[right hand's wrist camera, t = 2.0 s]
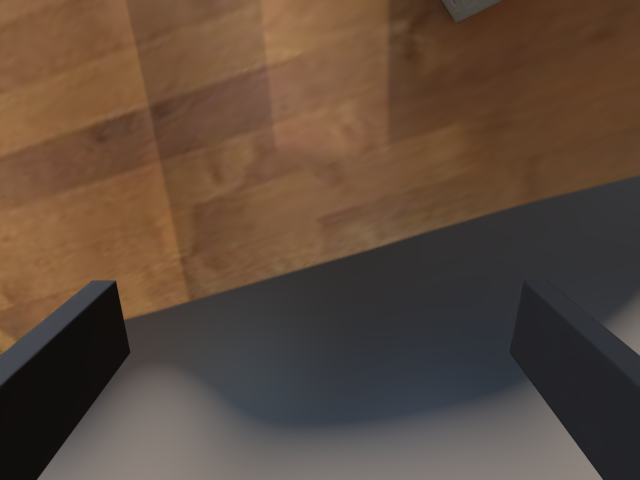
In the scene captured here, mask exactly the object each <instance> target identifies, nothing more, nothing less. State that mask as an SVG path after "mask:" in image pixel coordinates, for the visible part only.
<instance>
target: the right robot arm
mask: <svg viewBox="0 0 640 480" xmlns="http://www.w3.org/2000/svg"><path fill="white" fill-rule="evenodd" d="M129 354H130V349H129V344H128V339H127V334H126V329H125V324H124V319H123V314H122V309H121V304H120V299H119V294H118V289H117V284H116V281H91V282H90V283H89V284H87V285H86V286H85V287H84V288H83V289H81V290H80V291H79V292H78V293H76V294H75V295H74V296H73V297H72V298H70V299H69V300H68V301H67V302H65V303H64V304H63V305H62V306H61V307H59V308H58V309H57V310H56V311H54V312H53V313H52V314H51V315H49V316H48V317H47V318H46V319H45V320H43V321H42V322H41V323H40V324H38V325H37V326H36V327H35V328H34V329H32V330H31V331H30V332H29V333H27V334H26V335H25V336H24V337H23V338H21V339H20V340H19V341H18V342H16V343H15V344H14V345H13V346H12V347H10V348H9V349H8V350H7V351H5V352H4V353H3V354H2V355H1V356H0V480H37V479H38V477H39V476H40V475H41V473H42V472H43V471H44V469H45V468H46V467H47V465H48V464H49V462H50V461H51V460H52V458H53V457H54V456H55V454H56V453H57V452H58V450H59V449H60V447H61V446H62V445H63V443H64V442H65V441H66V439H67V438H68V437H69V435H70V434H71V433H72V431H73V430H74V428H75V427H76V426H77V424H78V423H79V422H80V420H81V419H82V418H83V416H84V415H85V413H86V412H87V411H88V409H89V408H90V407H91V405H92V404H93V403H94V401H95V400H96V399H97V397H98V396H99V394H100V393H101V392H102V390H103V389H104V388H105V386H106V385H107V384H108V382H109V381H110V379H111V378H112V377H113V375H114V374H115V373H116V371H117V370H118V369H119V367H120V366H121V364H122V363H123V362H124V360H125V359H126V358H127V356H128V355H129ZM510 354H511V355H512V356H513V358H514V359H515V360H516V362H517V363H518V365H519V366H520V367H521V369H522V370H523V371H524V373H525V374H526V375H527V377H528V378H529V379H530V381H531V382H532V384H533V385H534V386H535V388H536V389H537V390H538V392H539V393H540V394H541V396H542V397H543V399H544V400H545V401H546V403H547V404H548V405H549V407H550V408H551V409H552V411H553V412H554V413H555V415H556V416H557V418H558V419H559V420H560V422H561V423H562V424H563V426H564V427H565V428H566V430H567V431H568V433H569V434H570V435H571V437H572V438H573V439H574V441H575V442H576V443H577V445H578V446H579V447H580V449H581V450H582V452H583V453H584V454H585V456H586V457H587V458H588V460H589V461H590V462H591V464H592V465H593V466H594V468H595V469H596V471H597V472H598V473H599V475H600V476H601V477H602V479H603V480H640V356H639V355H638V354H637V353H636V352H635V351H633V350H632V349H631V348H630V347H628V346H627V345H626V344H625V343H623V342H622V341H621V340H620V339H619V338H617V337H616V336H615V335H614V334H612V333H611V332H610V331H609V330H608V329H606V328H605V327H604V326H603V325H602V324H600V323H599V322H598V321H597V320H595V319H594V318H593V317H592V316H591V315H589V314H588V313H587V312H586V311H584V310H583V309H582V308H581V307H579V306H578V305H577V304H576V303H575V302H573V301H572V300H571V299H570V298H568V297H567V296H566V295H565V294H564V293H562V292H561V291H560V290H559V289H557V288H556V287H555V286H554V285H553V284H551V283H550V282H549V281H524V284H523V289H522V294H521V299H520V304H519V309H518V314H517V319H516V324H515V329H514V334H513V339H512V344H511V349H510Z"/></svg>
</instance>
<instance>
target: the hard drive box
mask: <svg viewBox="0 0 640 480" xmlns="http://www.w3.org/2000/svg"><path fill="white" fill-rule="evenodd" d="M442 1H443V3H444V5H445V6H446V8H447V9H448V11H449V13H450V14H451V16H452V18H453V19H454V21H455V22H457V23H458V22H460V21H462V20H464V19H466V18H468V17H470V16H472V15H474V14H477V13H478V12H480V11H482V10H484V9H486V8H488V7H490V6H492V5H494V4H496V3H498V2H500V1H502V0H442Z"/></svg>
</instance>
